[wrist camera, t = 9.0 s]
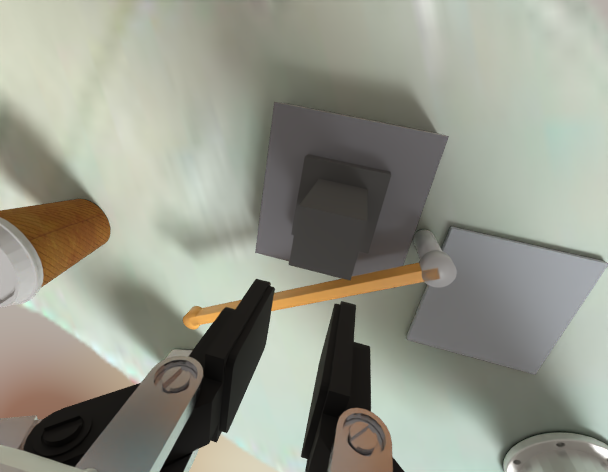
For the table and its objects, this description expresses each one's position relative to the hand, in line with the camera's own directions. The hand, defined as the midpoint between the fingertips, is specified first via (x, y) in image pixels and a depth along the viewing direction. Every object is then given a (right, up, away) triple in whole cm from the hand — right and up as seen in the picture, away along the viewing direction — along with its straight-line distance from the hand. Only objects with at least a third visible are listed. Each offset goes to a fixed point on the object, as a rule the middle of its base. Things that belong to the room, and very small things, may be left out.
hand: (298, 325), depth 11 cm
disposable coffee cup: (-27, +5, +27) cm, 38 cm away
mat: (+20, -4, +21) cm, 29 cm away
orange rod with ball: (0, -2, +18) cm, 18 cm away
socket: (+6, +7, +19) cm, 21 cm away
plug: (+4, +7, +18) cm, 20 cm away
